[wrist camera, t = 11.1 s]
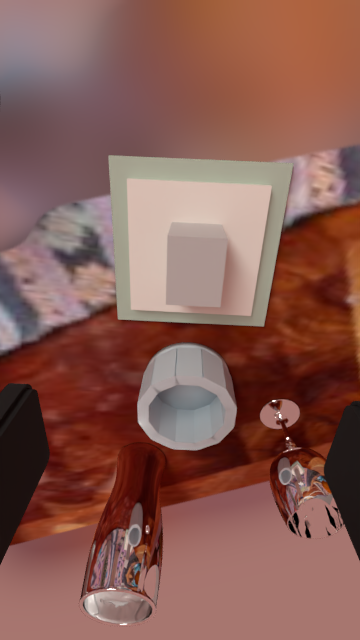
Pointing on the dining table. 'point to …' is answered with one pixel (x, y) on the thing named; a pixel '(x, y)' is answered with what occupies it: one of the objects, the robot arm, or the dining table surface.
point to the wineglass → (300, 480)
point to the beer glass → (127, 543)
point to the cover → (195, 245)
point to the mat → (199, 172)
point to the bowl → (187, 397)
